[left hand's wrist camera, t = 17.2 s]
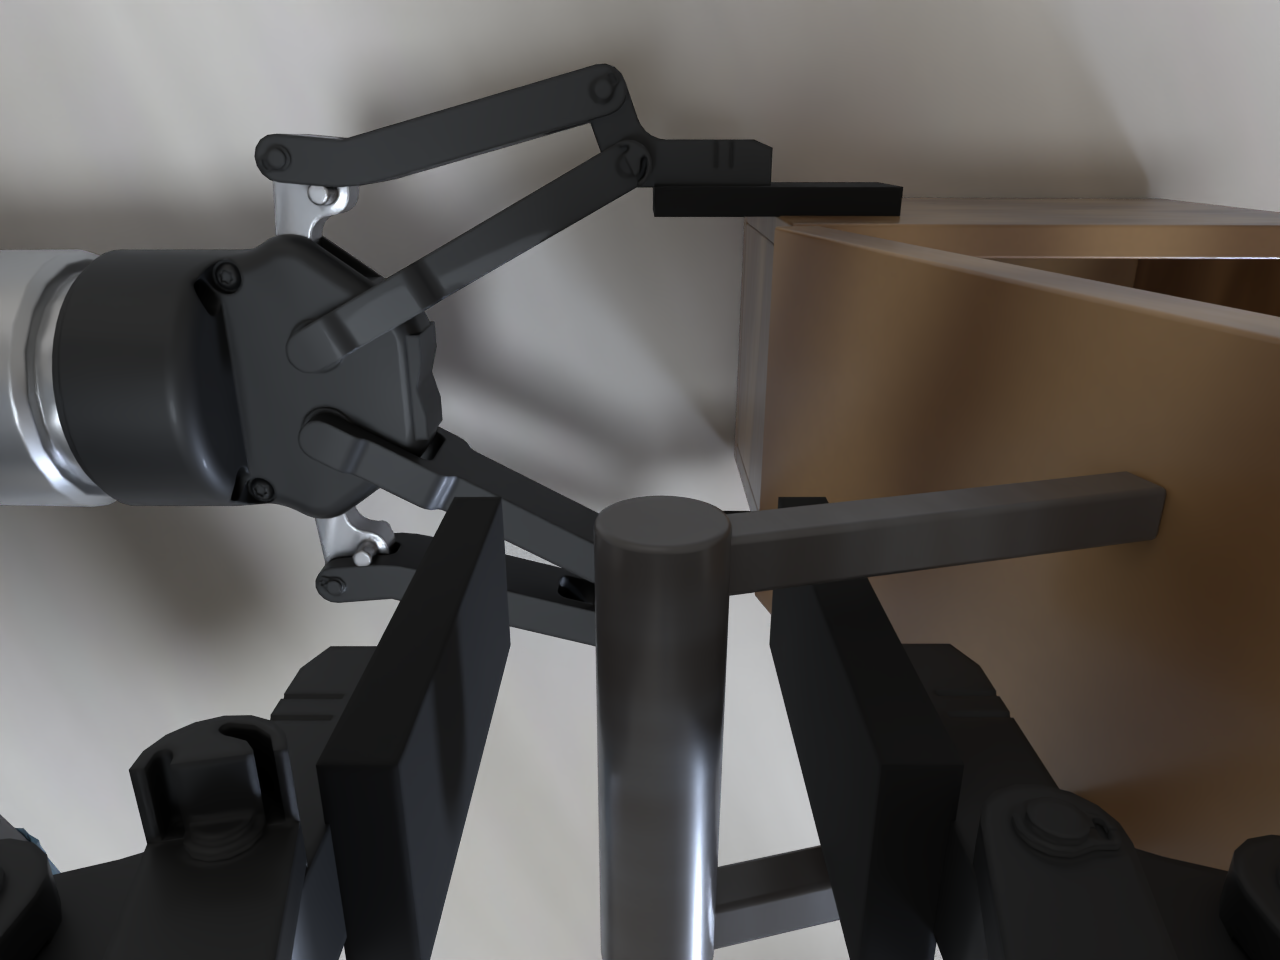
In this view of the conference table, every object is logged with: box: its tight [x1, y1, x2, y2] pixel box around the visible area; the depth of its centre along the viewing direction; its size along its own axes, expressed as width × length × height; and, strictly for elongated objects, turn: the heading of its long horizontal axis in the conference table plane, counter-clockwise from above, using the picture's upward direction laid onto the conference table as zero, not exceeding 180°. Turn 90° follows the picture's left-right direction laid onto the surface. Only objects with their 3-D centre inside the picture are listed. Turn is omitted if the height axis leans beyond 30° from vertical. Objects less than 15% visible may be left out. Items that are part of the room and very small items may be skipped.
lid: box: [594, 226, 1280, 960], centre depth 15 cm, size 15×10×8 cm
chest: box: [734, 198, 1280, 512], centre depth 28 cm, size 14×10×10 cm, turn 90°
